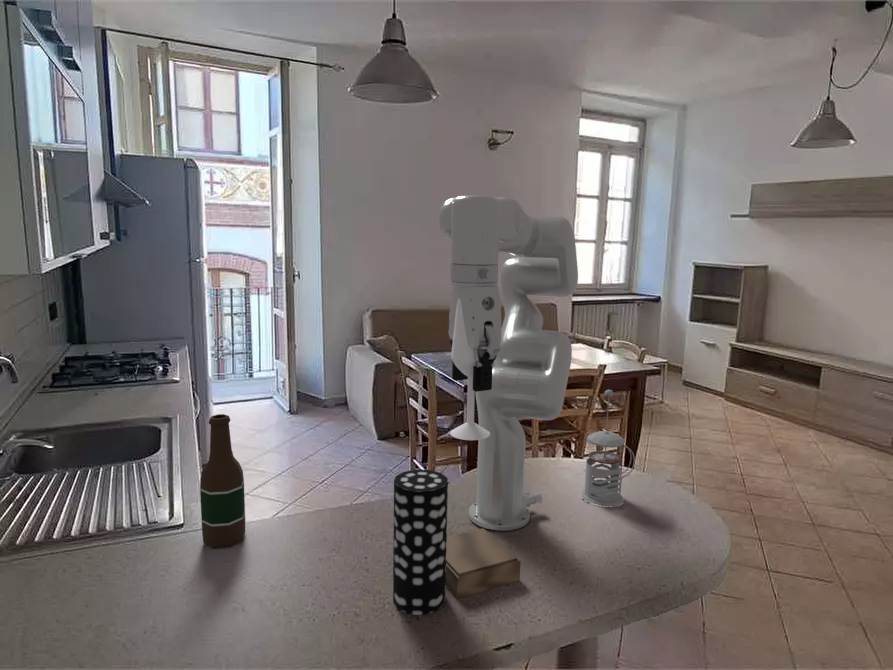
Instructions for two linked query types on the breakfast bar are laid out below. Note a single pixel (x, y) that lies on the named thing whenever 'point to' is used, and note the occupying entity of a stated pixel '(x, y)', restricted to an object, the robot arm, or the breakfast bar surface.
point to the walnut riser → (478, 563)
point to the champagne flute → (465, 363)
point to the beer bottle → (222, 490)
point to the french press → (601, 489)
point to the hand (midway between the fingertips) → (471, 383)
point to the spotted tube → (420, 541)
